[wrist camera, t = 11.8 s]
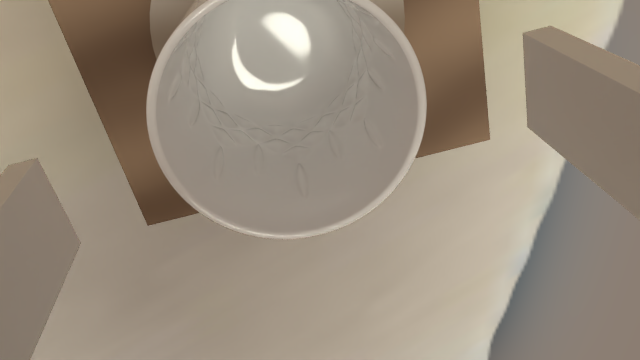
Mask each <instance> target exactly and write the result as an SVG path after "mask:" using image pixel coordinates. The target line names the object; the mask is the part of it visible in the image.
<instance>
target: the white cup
mask: <svg viewBox="0 0 640 360" xmlns="http://www.w3.org/2000/svg"><path fill="white" fill-rule="evenodd" d="M426 111H427V100H426V89H425V83H424V78H423V74H422V70H421V67H420V64H419V61H418V59H417V56H416V54H415V52H414V50H413V48H412V46H411V44H410V43H409V41H408V39H407V38H406V36H405V35H404V33H403V32H402V31H401V29H400V28H399V27H398V25H397V24H396V23H395V22H394V21H393V20H392V19H391V18H390V17H389V16H388V15H387V14H386V13H385V12H384V11H383V10H382V9H381V8H379V7H378V6H377V5H375V4H374V3H373V2H371V1H370V0H195V1H194V3H193V4H192V5H191V7H190V8H189V10H188V11H187V13H186V14H185V16H184V17H183V19H182V20H181V22H180V23H179V25H178V26H177V27H176V29H175V30H174V32H173V33H172V34H171V36H170V37H169V39H168V40H167V42H166V43H165V45H164V47H163V48H162V50H161V52H160V54H159V56H158V58H157V61H156V63H155V66H154V68H153V71H152V74H151V78H150V82H149V87H148V93H147V102H146V118H147V128H148V134H149V139H150V143H151V146H152V149H153V152H154V155H155V157H156V160H157V162H158V164H159V166H160V168H161V170H162V172H163V173H164V175H165V177H166V178H167V180H168V181H169V183H170V184H171V185H172V187H173V188H174V189H175V190H176V191H177V193H178V194H179V195H180V196H181V197H182V198H183V199H184V200H185V201H186V202H187V203H188V204H189V205H190V206H192V207H193V208H194V209H195V210H197V211H198V212H199V213H201V214H202V215H204V216H205V217H207V218H208V219H210V220H212V221H213V222H215V223H217V224H219V225H221V226H223V227H226V228H228V229H231V230H233V231H236V232H239V233H242V234H246V235H250V236H254V237H260V238H267V239H300V238H307V237H313V236H318V235H322V234H325V233H329V232H332V231H335V230H337V229H340V228H342V227H345V226H347V225H349V224H351V223H353V222H355V221H357V220H358V219H360V218H362V217H363V216H365V215H366V214H368V213H369V212H371V211H372V210H373V209H375V208H376V207H377V206H378V205H380V204H381V203H382V202H383V201H384V200H385V199H386V198H387V197H388V196H389V195H390V194H391V193H392V192H393V191H394V190H395V189H396V187H397V186H398V185H399V184H400V182H401V181H402V180H403V178H404V177H405V175H406V174H407V172H408V170H409V169H410V167H411V165H412V163H413V161H414V159H415V157H416V155H417V152H418V150H419V147H420V144H421V141H422V137H423V133H424V128H425V122H426Z"/></svg>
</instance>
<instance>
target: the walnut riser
mask: <svg viewBox="0 0 640 360" xmlns="http://www.w3.org/2000/svg"><path fill="white" fill-rule="evenodd" d="M48 1H49V3H50V6H51V8H52V10H53V12H54V15H55V17H56V19H57V21H58V24H59V26H60V28H61V30H62V33H63V35H64V37H65V40H66V42H67V44H68V46H69V49H70V51H71V53H72V55H73V58H74V60H75V62H76V64H77V67H78V69H79V71H80V73H81V76H82V78H83V80H84V82H85V85H86V87H87V89H88V92H89V94H90V96H91V98H92V101H93V103H94V105H95V107H96V110H97V112H98V114H99V116H100V119H101V121H102V123H103V125H104V128H105V130H106V132H107V134H108V137H109V139H110V141H111V144H112V146H113V148H114V150H115V153H116V155H117V157H118V159H119V162H120V164H121V166H122V168H123V171H124V173H125V175H126V177H127V180H128V182H129V184H130V186H131V189H132V191H133V193H134V196H135V198H136V200H137V202H138V205H139V207H140V209H141V211H142V214H143V216H144V218H145V220H146V223H147V225H152V224H156V223H160V222H164V221H168V220H172V219H176V218H180V217H184V216H188V215H192V214H196V213H199V212H198V211H197V210H195V209H194V208H193V207H192V206H190V205H189V204H188V203H187V202H186V201H185V200H184V199H183V198H182V197H181V196H180V195H179V194H178V193H177V191H176V190H175V189H174V188H173V187H172V185H171V184H170V183H169V181H168V180H167V178H166V177H165V175H164V173H163V172H162V170H161V168H160V166H159V164H158V162H157V160H156V157H155V155H154V152H153V149H152V146H151V143H150V139H149V134H148V128H147V118H146V102H147V93H148V87H149V82H150V78H151V74H152V71H153V68H154V66H155V63H156V61H157V58H158V56H159V54H160V52H161V50H162V48H163V47H164V45H165V43H166V42H167V40H168V39H169V37H170V36H171V34H172V33H173V32H174V30H175V29H176V27H177V26H178V25H179V23H180V22H181V20H182V19H183V17H184V16H185V14H186V13H187V11H188V10H189V8H190V7H191V5H192V4H193V3H194V1H195V0H48ZM370 1H371V2H373V3H374V4H375V5H377V6H378V7H379V8H381V9H382V10H383V11H384V12H385V13H386V14H387V15H388V16H389V17H390V18H391V19H392V20H393V21H394V22H395V23H396V24H397V25H398V27H399V28H400V29H401V31H402V32H403V33H404V35H405V36H406V38H407V39H408V41H409V43H410V44H411V46H412V48H413V50H414V52H415V54H416V56H417V59H418V61H419V64H420V67H421V70H422V74H423V78H424V83H425V89H426V100H427V111H426V122H425V128H424V133H423V137H422V141H421V144H420V147H419V150H418V152H417V155H416V157H415V158H418V157H422V156H426V155H430V154H434V153H438V152H442V151H446V150H450V149H454V148H458V147H462V146H466V145H470V144H474V143H478V142H482V141H486V140H490V133H489V120H488V108H487V96H486V84H485V72H484V60H483V48H482V35H481V23H480V11H479V0H370Z"/></svg>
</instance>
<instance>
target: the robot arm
mask: <svg viewBox="0 0 640 360" xmlns="http://www.w3.org/2000/svg"><path fill="white" fill-rule="evenodd" d="M523 49H524V69H525V88H526V108H527V127H528V128H529V129H530V130H532V131H533V132H534V133H535V134H536V135H538V136H539V137H540V138H541V139H542V140H544V141H545V142H546V143H547V144H548V145H550V146H551V147H552V148H553V149H554V150H556V151H557V152H558V153H559V154H560V155H562V156H563V157H564V158H565V159H566V160H568V161H569V162H570V163H571V164H573V165H574V166H575V167H576V168H578V169H579V170H580V171H581V172H582V173H583V174H585V175H586V176H587V177H588V178H589V179H591V180H592V181H593V182H594V183H595V184H597V185H598V186H599V187H600V188H601V189H603V190H604V191H605V192H606V193H607V194H609V195H610V196H611V197H612V198H613V199H615V200H616V201H617V202H618V203H619V204H621V205H622V206H623V207H624V208H625V209H627V210H628V211H629V212H630V213H631V214H633V215H634V216H635V217H636V218H638V219H639V220H640V65H637V64H635V63H633V62H631V61H628V60H626V59H624V58H622V57H620V56H617V55H615V54H613V53H610V52H608V51H606V50H604V49H602V48H599V47H597V46H595V45H593V44H590V43H588V42H586V41H584V40H582V39H579V38H577V37H575V36H573V35H570V34H568V33H566V32H564V31H561V30H559V29H557V28H555V27H552V26H548V27H544V28H540V29H536V30H532V31H528V32H524V33H523ZM80 244H81V242H80V240H79V238H78V236H77V234H76V232H75V231H74V229H73V227H72V225H71V223H70V221H69V219H68V217H67V215H66V213H65V211H64V209H63V207H62V205H61V203H60V201H59V199H58V197H57V195H56V194H55V192H54V190H53V188H52V186H51V184H50V182H49V180H48V178H47V176H46V174H45V172H44V170H43V168H42V166H41V164H40V162H39V160H38V158H35V159H31V160H27V161H23V162H20V163H16V164H12V165H8V167H7V168H6V169H5V170H4V172H3V173H2V174H1V175H0V360H30V359H31V356H32V354H33V352H34V349H35V347H36V345H37V343H38V340H39V338H40V336H41V333H42V331H43V329H44V326H45V324H46V322H47V320H48V317H49V315H50V313H51V310H52V308H53V306H54V304H55V301H56V299H57V297H58V294H59V292H60V290H61V287H62V285H63V283H64V281H65V278H66V276H67V274H68V271H69V269H70V267H71V265H72V262H73V260H74V258H75V255H76V253H77V251H78V248H79V246H80Z"/></svg>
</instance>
